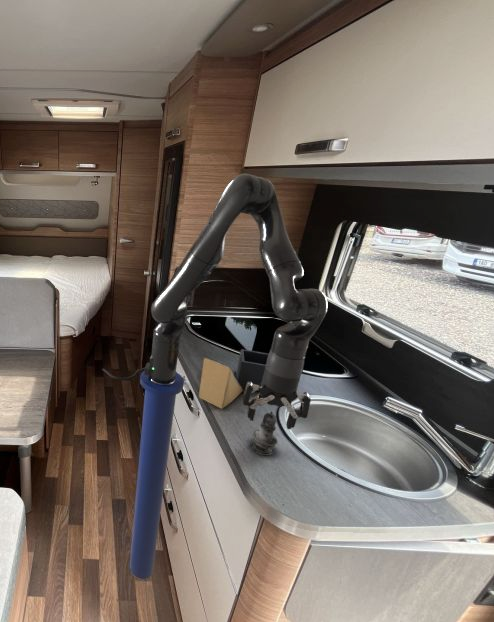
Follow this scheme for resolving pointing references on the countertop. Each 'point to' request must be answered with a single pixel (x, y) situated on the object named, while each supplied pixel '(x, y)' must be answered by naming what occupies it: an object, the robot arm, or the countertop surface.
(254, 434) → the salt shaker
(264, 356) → the trash bin
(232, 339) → the countertop surface
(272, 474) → the countertop surface
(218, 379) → the sandwich container
